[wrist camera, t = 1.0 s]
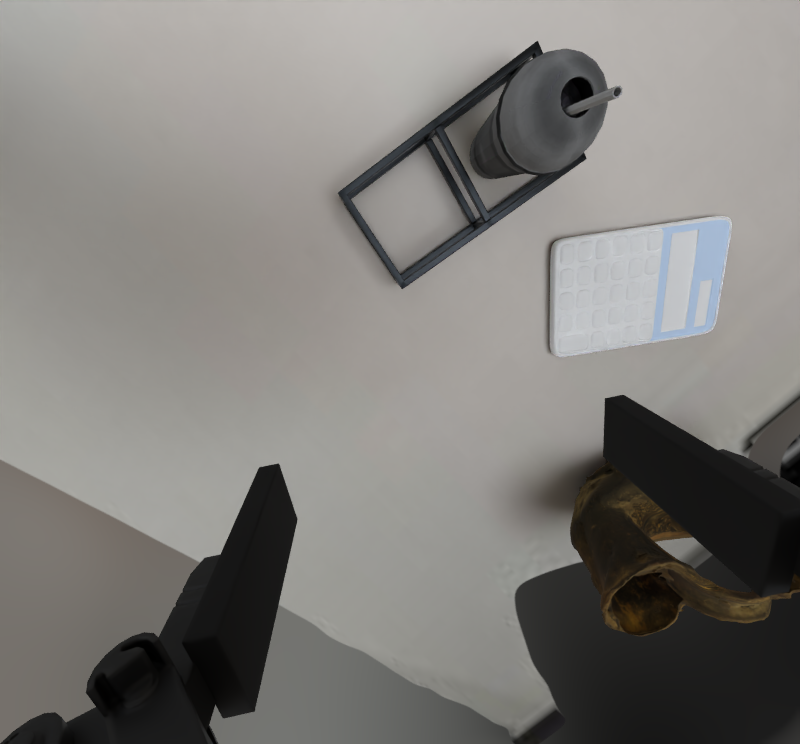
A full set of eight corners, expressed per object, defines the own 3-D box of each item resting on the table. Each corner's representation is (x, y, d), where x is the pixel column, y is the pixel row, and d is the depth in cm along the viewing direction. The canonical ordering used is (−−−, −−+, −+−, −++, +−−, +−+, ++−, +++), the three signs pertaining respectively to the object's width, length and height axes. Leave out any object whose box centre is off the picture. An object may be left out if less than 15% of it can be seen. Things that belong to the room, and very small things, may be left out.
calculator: (548, 239, 40) (556, 239, 38) (722, 214, 41) (739, 213, 39) (547, 355, 45) (555, 360, 43) (704, 330, 46) (717, 334, 44)
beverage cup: (538, 125, 36) (729, 4, 18) (511, 203, 39) (654, 169, 20) (470, 98, 35) (597, -65, 16) (446, 180, 37) (533, 120, 18)
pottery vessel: (533, 531, 54) (624, 684, 35) (526, 469, 50) (623, 605, 32) (697, 489, 54) (873, 619, 36) (703, 425, 51) (902, 534, 32)
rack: (340, 198, 37) (337, 192, 32) (513, 67, 35) (537, 40, 30) (397, 283, 40) (402, 289, 35) (558, 168, 38) (586, 158, 33)
